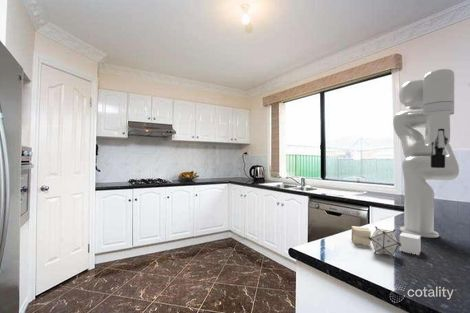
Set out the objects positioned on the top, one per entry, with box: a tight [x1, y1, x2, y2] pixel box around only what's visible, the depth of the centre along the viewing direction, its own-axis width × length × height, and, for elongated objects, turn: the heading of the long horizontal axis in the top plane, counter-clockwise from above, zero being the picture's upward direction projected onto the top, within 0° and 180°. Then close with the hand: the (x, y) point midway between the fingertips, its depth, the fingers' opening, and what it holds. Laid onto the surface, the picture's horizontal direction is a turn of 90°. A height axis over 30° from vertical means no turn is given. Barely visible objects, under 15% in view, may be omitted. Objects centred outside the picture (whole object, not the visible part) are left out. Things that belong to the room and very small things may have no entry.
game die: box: [368, 226, 401, 259], centre depth 71 cm, size 9×8×10 cm
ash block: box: [351, 225, 372, 246], centre depth 82 cm, size 5×5×5 cm
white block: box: [398, 231, 422, 256], centre depth 75 cm, size 5×5×5 cm
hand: (437, 167), depth 74 cm, fingers closed
